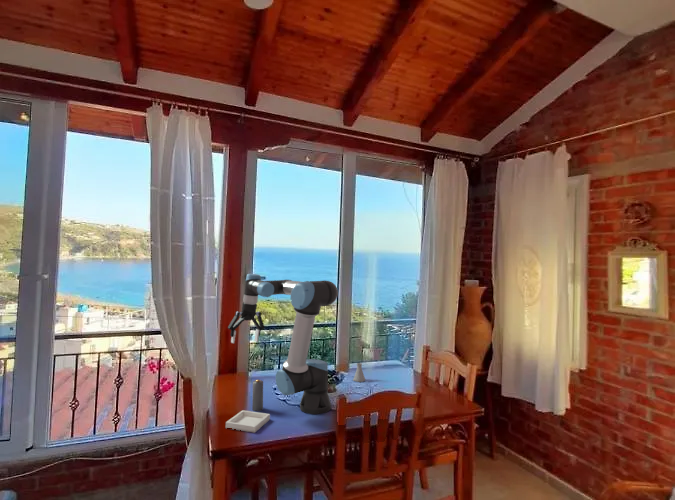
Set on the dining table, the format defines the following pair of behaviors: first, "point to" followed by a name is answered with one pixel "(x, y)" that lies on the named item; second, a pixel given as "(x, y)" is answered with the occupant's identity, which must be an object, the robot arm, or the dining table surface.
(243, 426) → the tray
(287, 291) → the robot arm
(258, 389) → the charcoal cell
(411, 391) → the dining table surface
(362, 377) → the flask
